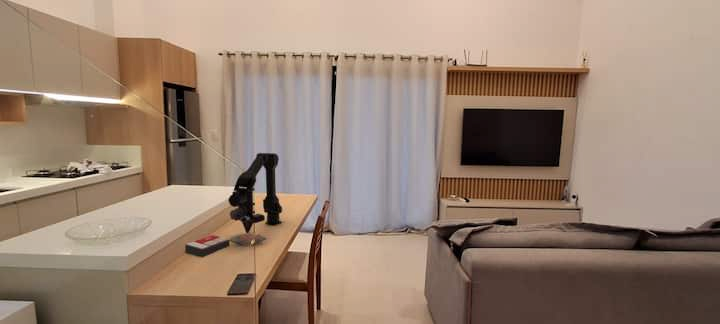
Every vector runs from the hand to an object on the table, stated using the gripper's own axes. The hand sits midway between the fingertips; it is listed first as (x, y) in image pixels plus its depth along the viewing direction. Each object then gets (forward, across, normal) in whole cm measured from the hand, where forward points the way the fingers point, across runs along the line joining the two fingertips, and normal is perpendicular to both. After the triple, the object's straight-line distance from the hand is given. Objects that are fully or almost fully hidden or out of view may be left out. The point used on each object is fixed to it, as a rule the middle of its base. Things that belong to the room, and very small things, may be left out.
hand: (247, 232), depth 163 cm
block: (+2, -2, 0) cm, 2 cm away
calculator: (+4, -5, -18) cm, 19 cm away
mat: (+4, 0, 0) cm, 4 cm away
